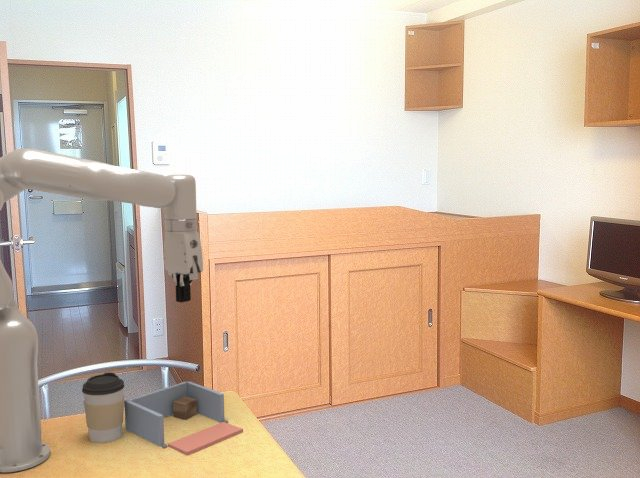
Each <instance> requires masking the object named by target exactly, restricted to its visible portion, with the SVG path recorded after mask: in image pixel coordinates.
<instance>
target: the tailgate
mask: <svg viewBox="0 0 640 478" xmlns="http://www.w3.org/2000/svg"><path fill="white" fill-rule="evenodd" d="M242 433H244V428H241V427H239V426H236V425H233V424H230V423H229V422H228V423H225V422H222V423H221V422H218V423H217V424H214V425H212V426H209V427H207V428H204V429H201V430H199V431H196V432H194V433H192V434H190V435H187V436H184V437H181V438H179V439H177V440H174V441H172V442H169V443H167V448H168V447H169V448H171V449H173V450H174V451H177V452H179V453H181V454H183V455H184V456H191V455H193V454H195V453H198V452H200V451H202V450H205V449H207V448H209V447H211V446H214V445H217V444H219V443H221V442H224V441H226V440H228V439H231V438H233V437H235V436H238V435H240V434H242Z"/></svg>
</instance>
